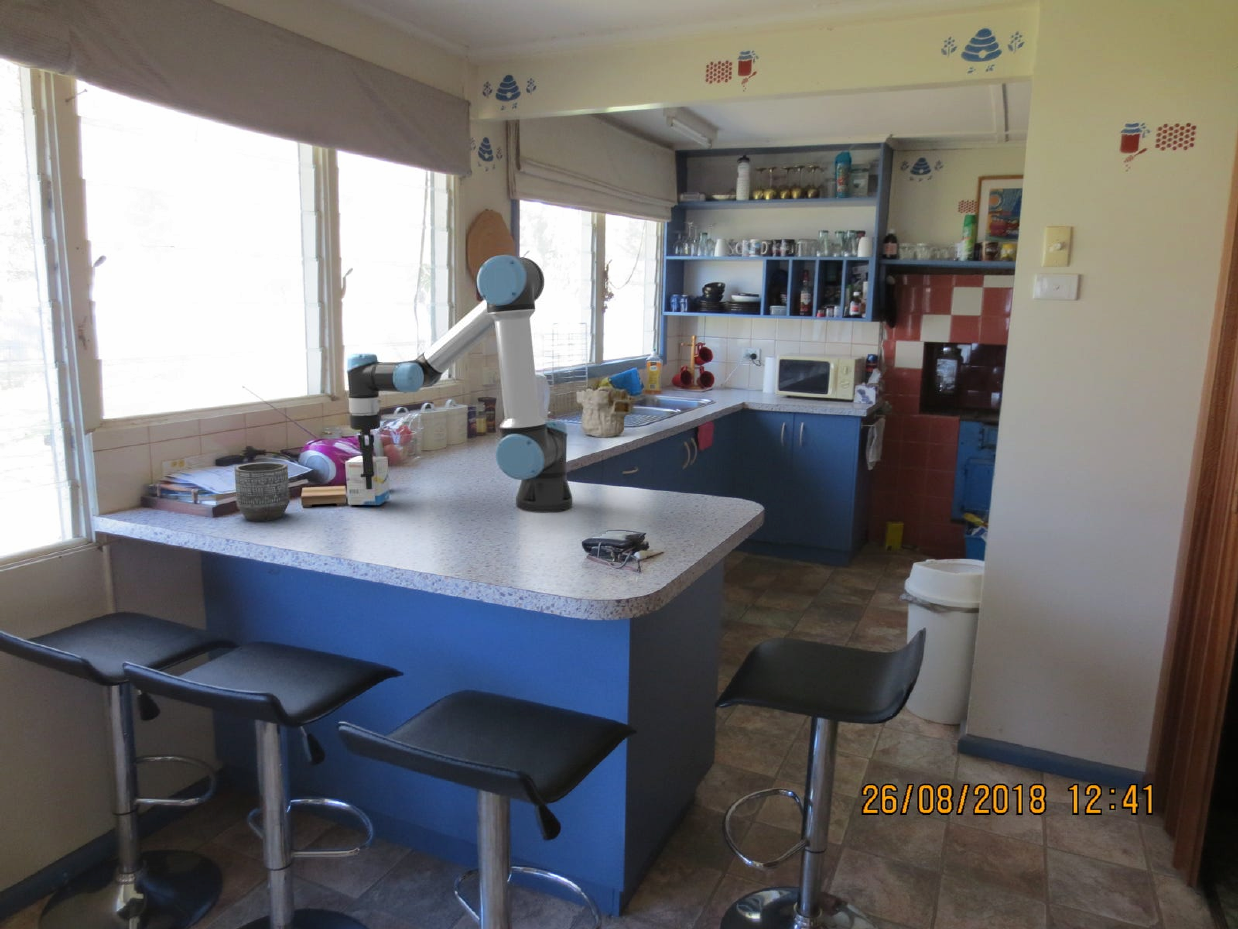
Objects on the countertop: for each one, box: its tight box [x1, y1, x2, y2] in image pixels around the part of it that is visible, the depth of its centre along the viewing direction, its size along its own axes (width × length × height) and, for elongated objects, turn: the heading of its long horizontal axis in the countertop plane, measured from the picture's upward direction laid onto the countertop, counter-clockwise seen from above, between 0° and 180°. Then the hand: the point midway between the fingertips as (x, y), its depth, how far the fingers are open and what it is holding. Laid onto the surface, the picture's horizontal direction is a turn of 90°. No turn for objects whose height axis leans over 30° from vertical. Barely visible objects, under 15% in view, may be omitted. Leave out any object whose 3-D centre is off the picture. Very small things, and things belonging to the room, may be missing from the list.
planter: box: [234, 461, 290, 522], centre depth 213 cm, size 12×12×13 cm
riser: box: [300, 485, 347, 508], centre depth 230 cm, size 11×11×3 cm
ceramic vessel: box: [576, 385, 636, 439], centre depth 353 cm, size 23×24×25 cm
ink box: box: [344, 455, 390, 506], centre depth 228 cm, size 9×8×12 cm
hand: (368, 496), depth 228 cm, fingers closed on ink box, 10 cm apart
